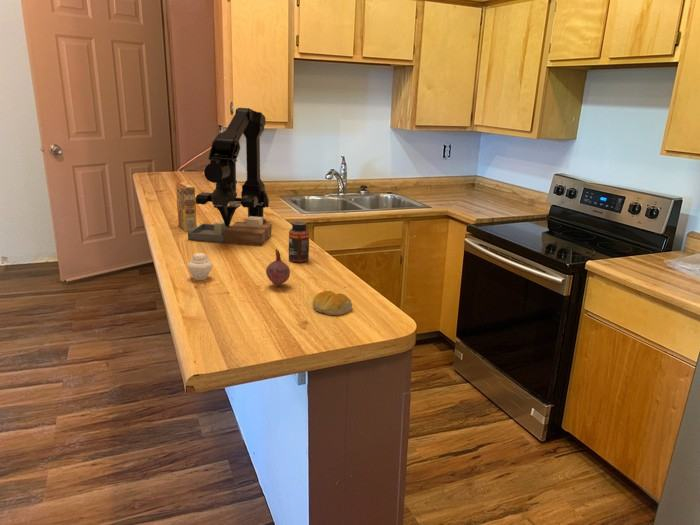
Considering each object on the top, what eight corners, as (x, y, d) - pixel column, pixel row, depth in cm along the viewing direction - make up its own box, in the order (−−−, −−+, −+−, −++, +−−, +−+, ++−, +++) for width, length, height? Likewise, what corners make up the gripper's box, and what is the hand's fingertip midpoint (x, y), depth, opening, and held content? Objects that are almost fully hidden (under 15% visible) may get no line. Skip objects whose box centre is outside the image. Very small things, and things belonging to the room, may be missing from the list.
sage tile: (221, 237, 175) (214, 236, 176) (227, 234, 179) (220, 233, 180) (221, 224, 174) (214, 223, 175) (227, 221, 178) (220, 220, 179)
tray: (202, 230, 185) (202, 223, 184) (235, 233, 184) (235, 226, 183) (188, 240, 172) (187, 232, 171) (223, 243, 171) (223, 235, 171)
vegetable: (278, 280, 141) (278, 244, 138) (295, 286, 137) (296, 249, 134) (260, 286, 136) (260, 248, 133) (277, 292, 133) (278, 253, 130)
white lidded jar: (199, 284, 135) (198, 257, 133) (182, 278, 138) (181, 252, 136) (217, 277, 140) (217, 252, 138) (201, 272, 143) (200, 247, 141)
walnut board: (236, 233, 184) (236, 221, 182) (271, 235, 183) (271, 224, 182) (224, 243, 171) (224, 231, 170) (261, 246, 170) (261, 233, 169)
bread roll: (325, 299, 131) (325, 284, 129) (356, 308, 126) (357, 292, 125) (304, 309, 124) (305, 293, 123) (336, 319, 119) (337, 302, 118)
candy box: (197, 230, 184) (195, 186, 179) (185, 232, 182) (183, 187, 177) (189, 225, 191) (187, 182, 186) (177, 226, 189) (175, 182, 184)
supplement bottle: (311, 259, 160) (313, 222, 157) (303, 264, 155) (304, 226, 152) (293, 256, 162) (294, 219, 159) (284, 261, 157) (285, 223, 153)
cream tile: (249, 223, 181) (249, 216, 181) (262, 224, 181) (262, 217, 180) (246, 226, 177) (245, 219, 176) (259, 227, 177) (259, 220, 176)
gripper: (187, 179, 161) (189, 230, 166) (248, 184, 160) (249, 234, 164) (201, 174, 172) (202, 222, 176) (258, 178, 170) (258, 226, 175)
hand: (227, 226), depth 173 cm, fingers closed
